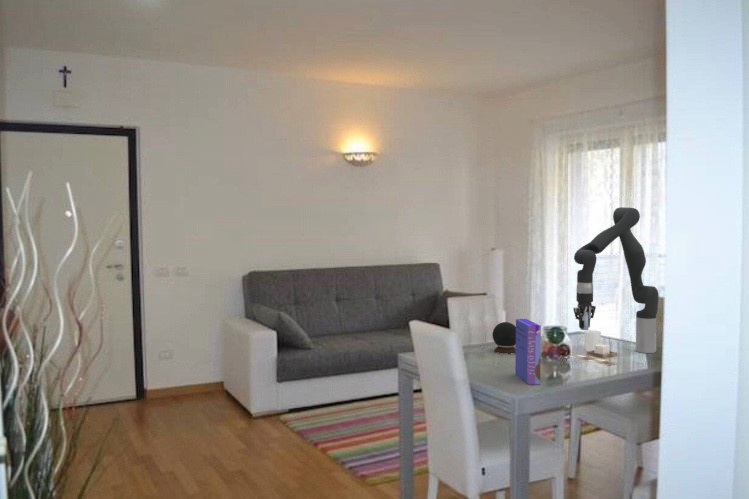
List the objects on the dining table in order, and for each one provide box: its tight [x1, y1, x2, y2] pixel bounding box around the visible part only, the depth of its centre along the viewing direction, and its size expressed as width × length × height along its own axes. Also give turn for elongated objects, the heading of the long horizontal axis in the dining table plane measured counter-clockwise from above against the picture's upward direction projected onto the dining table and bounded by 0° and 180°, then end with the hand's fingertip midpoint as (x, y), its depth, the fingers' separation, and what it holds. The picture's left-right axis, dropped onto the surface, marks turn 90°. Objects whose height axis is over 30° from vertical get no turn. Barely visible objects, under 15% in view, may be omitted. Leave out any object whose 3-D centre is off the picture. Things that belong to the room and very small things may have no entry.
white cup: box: [583, 329, 602, 352], centre depth 316 cm, size 8×8×10 cm
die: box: [594, 343, 610, 355], centre depth 303 cm, size 5×5×5 cm
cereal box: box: [514, 318, 542, 386], centre depth 259 cm, size 17×5×24 cm, turn 5°
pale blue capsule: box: [579, 312, 589, 331], centre depth 297 cm, size 4×4×9 cm
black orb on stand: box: [492, 321, 516, 355], centre depth 315 cm, size 13×13×15 cm
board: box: [569, 354, 617, 367], centre depth 294 cm, size 7×22×1 cm, turn 34°
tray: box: [586, 350, 618, 360], centre depth 303 cm, size 10×10×2 cm
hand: (584, 327), depth 297 cm, fingers closed on pale blue capsule, 3 cm apart
